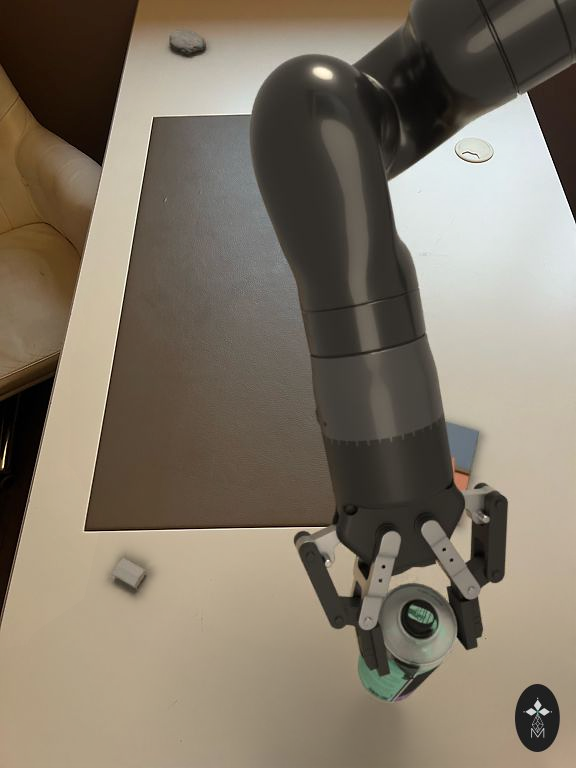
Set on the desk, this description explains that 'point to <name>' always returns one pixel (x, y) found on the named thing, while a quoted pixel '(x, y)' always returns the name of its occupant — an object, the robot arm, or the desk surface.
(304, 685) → the desk surface
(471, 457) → the sorting board
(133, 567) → the grey rectangular block
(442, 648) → the spray can
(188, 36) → the stone
